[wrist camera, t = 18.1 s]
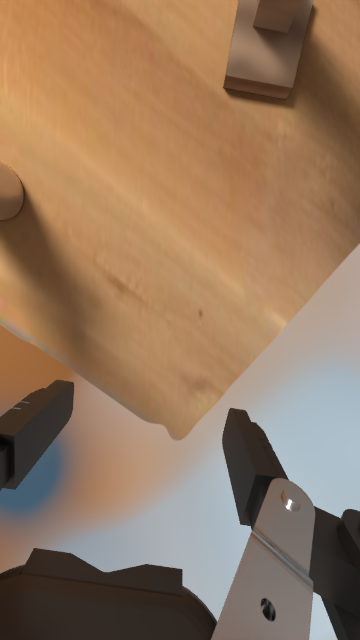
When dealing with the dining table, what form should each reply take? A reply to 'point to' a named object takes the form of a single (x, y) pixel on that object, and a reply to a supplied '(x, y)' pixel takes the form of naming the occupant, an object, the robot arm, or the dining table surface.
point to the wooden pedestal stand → (267, 46)
